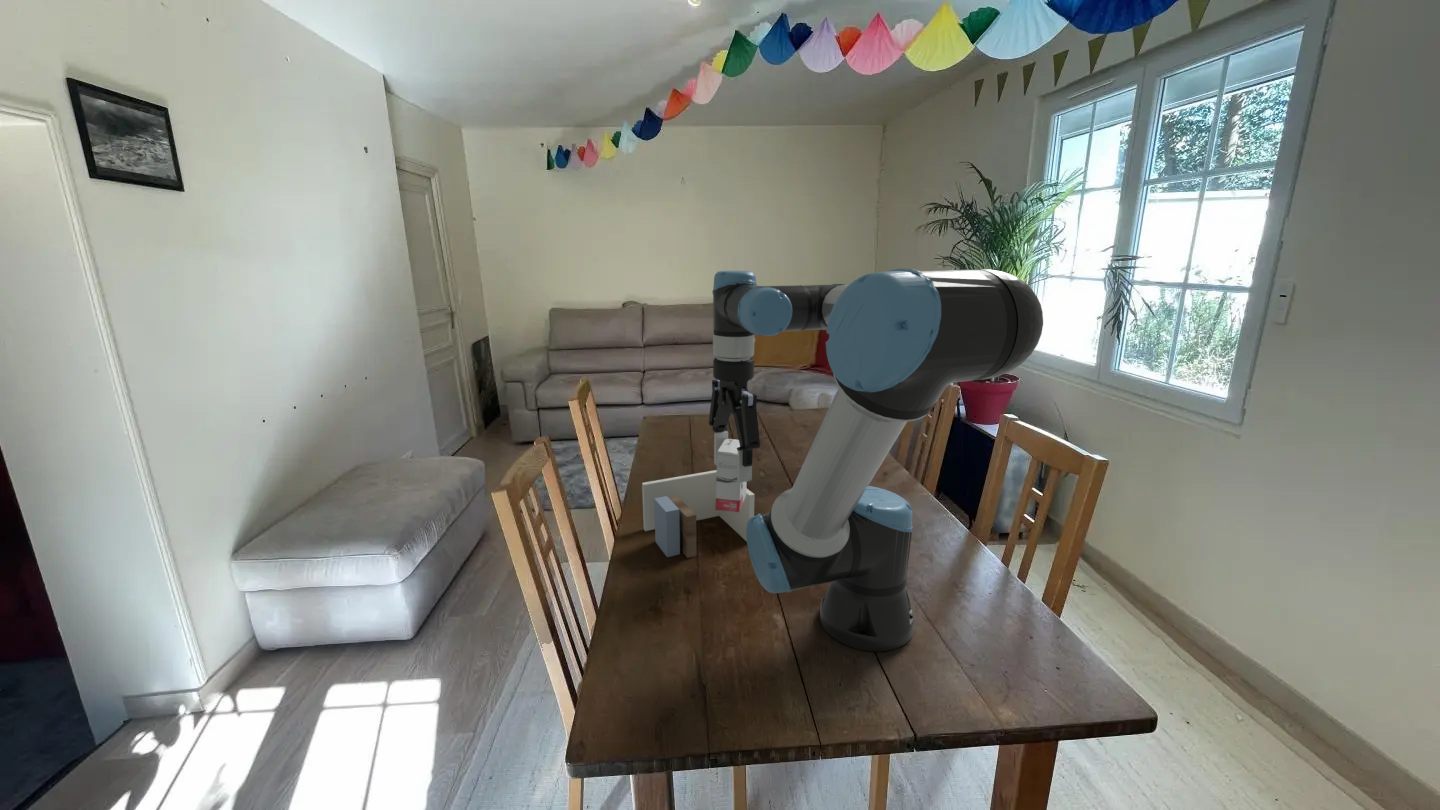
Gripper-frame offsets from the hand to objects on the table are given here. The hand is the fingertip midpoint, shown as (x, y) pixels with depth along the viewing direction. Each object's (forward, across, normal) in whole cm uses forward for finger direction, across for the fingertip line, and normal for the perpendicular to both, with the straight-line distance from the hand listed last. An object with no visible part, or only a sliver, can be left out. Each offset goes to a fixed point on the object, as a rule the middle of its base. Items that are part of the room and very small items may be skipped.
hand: (732, 471), depth 113 cm
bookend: (+19, +9, +7) cm, 22 cm away
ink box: (+7, 0, 0) cm, 7 cm away
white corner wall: (+19, +12, +2) cm, 22 cm away
